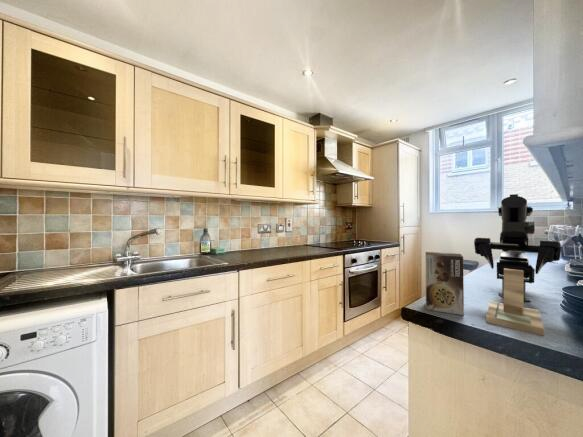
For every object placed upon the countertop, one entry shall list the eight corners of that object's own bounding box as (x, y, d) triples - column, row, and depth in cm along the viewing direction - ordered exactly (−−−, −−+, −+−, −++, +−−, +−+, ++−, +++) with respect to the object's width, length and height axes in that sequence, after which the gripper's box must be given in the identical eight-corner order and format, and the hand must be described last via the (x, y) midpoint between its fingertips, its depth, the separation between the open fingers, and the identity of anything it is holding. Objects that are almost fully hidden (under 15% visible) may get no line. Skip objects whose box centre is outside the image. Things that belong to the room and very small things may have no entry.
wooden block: (504, 306, 66) (504, 267, 66) (523, 310, 63) (523, 269, 64) (503, 312, 62) (503, 270, 62) (523, 316, 59) (523, 272, 59)
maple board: (490, 306, 71) (490, 300, 71) (538, 315, 64) (538, 309, 64) (486, 321, 59) (486, 315, 59) (544, 335, 52) (544, 328, 52)
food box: (460, 308, 68) (461, 253, 68) (464, 316, 63) (464, 256, 63) (425, 302, 73) (425, 251, 73) (425, 309, 67) (425, 253, 67)
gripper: (475, 213, 77) (470, 248, 69) (560, 212, 65) (566, 256, 56) (477, 236, 83) (473, 271, 75) (556, 239, 70) (561, 282, 62)
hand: (513, 270), depth 67 cm, fingers open, 9 cm apart
